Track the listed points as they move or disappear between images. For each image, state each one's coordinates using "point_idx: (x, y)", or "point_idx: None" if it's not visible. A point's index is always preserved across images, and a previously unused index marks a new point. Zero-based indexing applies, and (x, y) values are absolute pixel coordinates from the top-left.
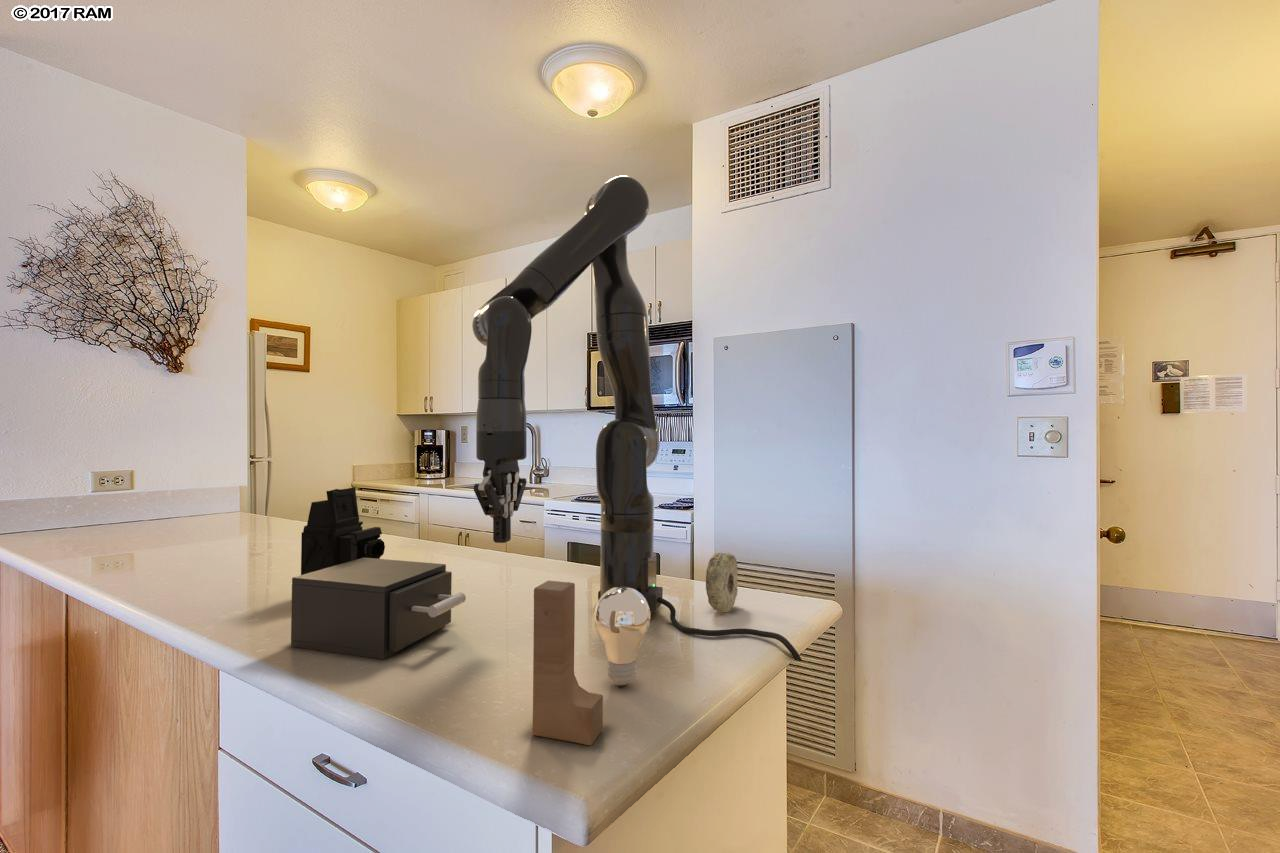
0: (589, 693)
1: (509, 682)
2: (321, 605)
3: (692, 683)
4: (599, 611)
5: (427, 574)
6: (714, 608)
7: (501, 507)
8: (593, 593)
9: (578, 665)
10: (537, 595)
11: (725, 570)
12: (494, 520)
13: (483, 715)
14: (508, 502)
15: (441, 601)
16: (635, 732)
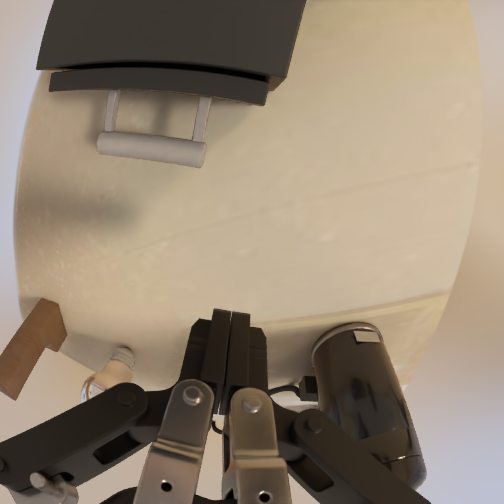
0: (52, 346)
1: (93, 264)
2: None
3: (151, 385)
4: (83, 391)
5: (184, 63)
6: None
7: (142, 446)
8: (430, 300)
9: (153, 320)
10: None
11: None
12: (179, 380)
13: (43, 259)
14: (223, 471)
15: (124, 146)
16: (75, 350)
